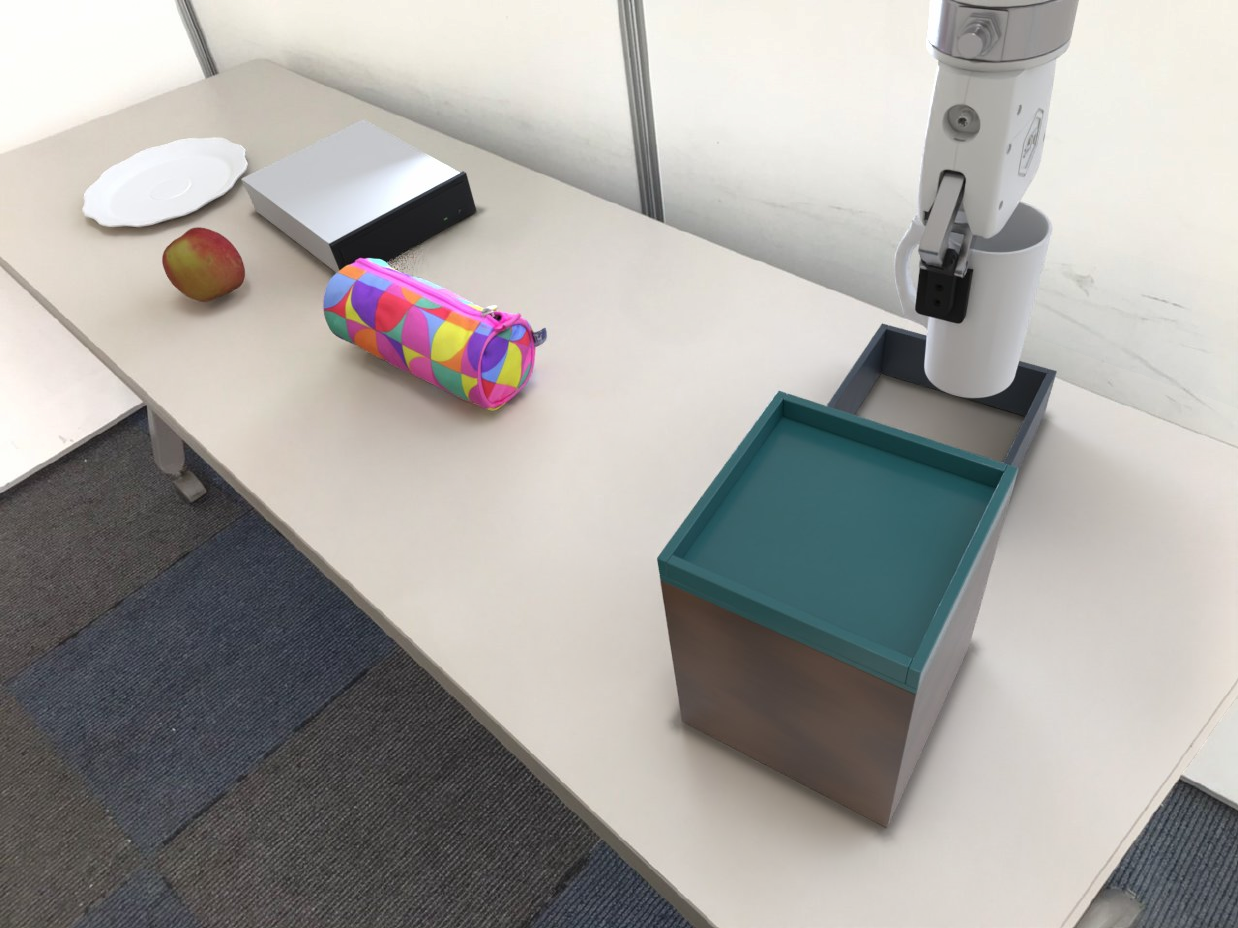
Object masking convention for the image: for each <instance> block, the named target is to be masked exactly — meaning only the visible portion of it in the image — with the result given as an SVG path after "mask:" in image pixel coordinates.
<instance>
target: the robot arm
mask: <svg viewBox="0 0 1238 928" xmlns="http://www.w3.org/2000/svg"><path fill="white" fill-rule="evenodd" d="M1079 2H1080V0H930V1H929V13H928V22H927V32H926V41H925V47H926V50H927V52H928V53H929V54H930V56H931V57H933V58H934V59H935V60H937V61H938V62H937V67H936V72H935V77H934V80H933V81H934V82H933V88H932V93H931V96H930V104H929V109H928V115H927V122H926V128H925V135H924V139H923V140H924V141H923V146H922V147H923V148H922V153H921V154H922V155H921V162H920V168H919V169H920V171H919V179H918V187H917V199H916V200H917V201H916V215H917V216H918V219H919V221H920V222H921V223H922V224H923V225H924V226H926V227H925V230H924V233H923V236H922V238H921V241H920V244H918V249H917V253H918V255H919V258H920V259H919V263H918V268H919V270H918V278H917V286H916V287H917V288H916V292H917V295H916V304H915V311H916V312H917V313H918V314H920V315H924V316H928V317H932V318H936V319H940V320H944V321H948V322H952V323H957V324H960V323H962V322H963V320H964V319H965V317H966V312H967V306H968V300H969V294H970V288H971V282H972V275H973V269H969V268H968V266H969V262H970V259H971V255H972V251H973V248H974V244H975V240H976V237H977V235H979V236H983V238H991V237H992V236H994V235H996V234H997V233H998V232H1000V231H1001V229H1002V228H1003V227H1004V225H1005V224H1006V222H1007V221H1008V219H1009V218H1010V216H1011V215H1012V213H1013V211H1014V210H1015V208H1016V207H1017V205H1018V203H1019V202H1021V201H1022V198H1023V197H1024V195H1025V194H1026V192H1027V191H1028V189H1029V187H1030V186H1031V184H1032V182H1033V180H1034V178H1035V176H1036V174H1037V173H1038V170H1039V168H1040V165H1041V162H1042V157H1043V151H1044V145H1045V138H1046V132H1047V125H1048V120H1049V113H1050V107H1051V100H1052V94H1053V89H1054V80H1055V73H1056V66H1057V59H1058V58H1060V57H1061V56H1062V55H1065V53H1066V52H1067V51H1068V49H1069V47H1070V45H1071V42H1072V41H1071V40H1072V37H1073V30H1074V26H1075V22H1076V16H1077V12H1078V6H1079ZM958 211H960V212H965V214H966V218H967V221H968V223H967V222H962V221H957V220H955V219H956V216H957V213H958ZM951 232H953V233H958V234H963V235H964V236H963V240H962V244H961V248H960V251H959V255H958V253H957V252H956V251H955V249H951V248H948V247H949V243H948V241H949V236H950V233H951Z"/></svg>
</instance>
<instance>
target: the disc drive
mask: <svg viewBox="0 0 1238 928" xmlns="http://www.w3.org/2000/svg"><path fill="white" fill-rule="evenodd" d="M241 181H242V184H243V186H244V189H245V190H246V192H247V194H248V196H249V199H250V200H251V203H252V205H253V207H254V209H255V211H256V213H258V214H259V215H261V216H262V217H263V218H265V220H267V221H269V222H270V223H271V224H272V225H274V226H275V227H276V228H278V229H279V230H280V231H281V232H283V234H285V235H286V236H288V237H289V238H291V239H292V240H293V241H294V242H295V243H297V244H298V245H300V246H301V247H302V248H304V249H305V250H306V251H307V252H308V253H310V254H311V255H313V257H315V258H317V259H318V260H319V261H320V262H321V263H323V264H325V266H327V267H328V268H330V269H331V270H332V271H333V272H335V274H336V273H337V272H338V271H340V270H341V269H342V268H344V267H345V266H347V265H350V264H353V263H355V260H357V259H359V258H363V259H366V258H372V259H381V260H383V261H385V262H386V263H388V262H389V261H391V260H393V259H395V258H397V257H398V256H400V255H402V254H404V253H405V252H407V251H409V250H410V249H412V248H414V247H416V246H418V245H419V244H422V243H423V242H425V241H427V240H428V239H430V238H432V237H433V236H435V235H438V234H439V233H441V232H443V231H444V230H446V229H448V228H449V227H451V226H453V225H455V224H456V223H458V222H460V221H462V220H464V219H466V218H468V217H470V216H471V215H473V214H474V213H476V212H477V207H476V203H475V199H474V196H473V192H472V189H471V184H470V181H469V177H468V174H467V172H466V171H464V170H463V171H461V172H460V171H459V170H455V169H454V168H452V167H451V166H449V165H447V164H445V163H443V162H442V161H440V160H439V159H436V158H435V157H433V156H431V155H430V154H428V153H425V151H423V150H420V149H418V148H417V147H415V146H413V145H411V144H410V143H408V142H406V141H404V140H402V139H401V138H399V137H398V136H395V135H393V134H392V133H390V132H388V131H386V130H385V129H383V128H381V127H379V126H378V125H375V124H374V123H372V122H370V121H368V120H367V119H365V118H362V119H360V120H357V121H356V122H354V123H352V124H349V125H348V126H345V127H344V128H342V129H340V130H337V131H336V132H334V133H331V134H329V135H327V136H326V137H323V138H321V139H319V140H317V141H315V142H313V143H311V144H308V145H307V146H305V147H303V148H301V149H299V150H297V151H295V152H293V153H291V154H288V155H286V156H284V157H283V158H280V159H278V160H276V161H274V162H272V163H270V164H268V165H266V166H264V167H262V168H260V169H258V170H255V171H254V172H252V173H250V174H247V175H245V176H244V177H241Z"/></svg>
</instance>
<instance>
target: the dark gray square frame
mask: <svg viewBox="0 0 1238 928" xmlns="http://www.w3.org/2000/svg"><path fill="white" fill-rule="evenodd" d="M926 339H927V334H922V333H919V332H915V331H912V330H908V329H905V328H901V327H897V326H895V325H894V326H893V325H890V324H886V323H883V322H882V323H881V324H880V325H879V327H878V328H877V330H876V332H875V333H874V335H873V336H872V338H871V339H869V342H868V343H867V345H866V346H865V348H864V350H863V351H862V352H861V354H860V355H859V356H858V358H857V360H856V361H855V362H854V364H853V366H852V367H851V368H850V370H849V372H848V373H847V375H846V376H845V377H844V379H843V380H842V382H841V383H840V385H839V386H838V388H837V390H836V391H835V393H833V395H832V396H831V398H830V400H829V402H827V404H826V406H828V407H831V408H834V409H837V410H841V411H844V412H847V413H850V414H853V415H856V413H857V411H858V410H859V408H860V407H861V405H862V404H863V402H864V400H865V399H866V398H867V396H868V395H869V393H870V392H871V390H872V388H873V387H874V385H875V384H876V382H877V381H878V379H879V377H880V376H881V374H882V375H885V376H890V377H893V378H896V379H899V380H902V381H905V382H909V383H912V384H916V385H920V386H923V387H926V388H930V389H933V390H936V391H940V392H943V393H945V392H944V391H942V390H940V389H939V388H937V387H936V386H935V385H933V384H932V383H931V381H930V380H929V379H928V377H927V376H926V373H925V369H924V363H925V352H926ZM1057 373H1058V371H1057V370H1055V369H1050V368H1047V367H1043V366H1041V365H1037V364H1033V363H1030V362H1025V361H1021V360H1019V363H1018V367H1017V370H1016V374H1015V377H1014V380H1013V381H1012V383H1011V384H1010V386H1009V387H1007V388H1006V389H1005V390H1003V391H1002V392H1000V393H998V394H995V395H992V396H988V397H982V398H966V397H962V398H963V399H967V400H969V401H973V402H976V403H979V404H982V405H987V406H990V407H992V408H996V409H999V410H1003V411H1007V412H1010V413H1013V414H1017V415H1020V416H1024V419H1023V422H1022V423H1021V425H1020V427H1019V430H1018V431H1017V434H1016V436H1015V437H1014V439H1013V441H1012V443H1011V445H1010V448H1009V450H1008V452H1007V454H1006V455H1005V458H1004V459H1003V462H1002V463H1005V464H1007V465H1011V466H1014V467H1017V468H1018V471H1019V469H1020V468H1021V466H1022V464H1023V461H1024V459H1025V457H1026V455H1027V453H1028V450H1029V449H1030V446H1031V444H1032V443H1033V441H1034V438H1035V436H1036V434H1037V432H1038V430H1039V429H1040V426H1041V424H1042V422H1043V419H1044V418H1045V415H1046V410H1047V407H1048V403H1049V400H1050V397H1051V394H1052V390H1053V387H1054V383H1055V379H1056V376H1057Z"/></svg>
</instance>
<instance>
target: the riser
mask: <svg viewBox="0 0 1238 928" xmlns="http://www.w3.org/2000/svg"><path fill="white" fill-rule="evenodd" d="M1012 495H1013V492H1012V493H1011V496H1010V498H1009V500H1008V502H1007V504H1006V506H1005V508H1004V510H1003V512H1002V515H1001V517H1000V519H999V521H998V523H997V525H996V527H995V529H994V531H993V534H992V536H991V538H990V540H989V542H988V544H987V546H986V548H985V550H984V553H983V555H982V557H981V559H980V561H979V563H978V565H977V567H976V570H975V572H974V574H973V576H972V578H971V580H970V582H969V584H968V586H967V589H966V591H965V593H964V595H963V597H962V599H961V601H960V603H959V605H958V608H957V610H956V612H955V614H954V616H953V618H952V620H951V622H950V624H949V627H948V629H947V631H946V633H945V635H944V637H943V639H942V641H941V643H940V646H939V648H938V650H937V652H936V654H935V656H934V658H933V660H932V663H931V665H930V667H929V669H928V671H927V673H926V675H925V677H924V679H923V682H922V684H921V686H920V688H919V690H918V692H917V694H913V693H911V692H909V691H907V690H905V689H902V688H900V687H898V686H896V685H893V684H891V683H889V682H887V681H885V680H882V679H880V678H878V677H876V676H873V675H871V674H869V673H867V672H864V671H862V670H860V669H858V668H856V667H853V666H851V665H849V664H847V663H844V662H842V661H840V660H838V659H835V658H833V657H831V656H829V655H827V654H824V653H822V652H820V651H818V650H815V649H813V648H811V647H809V646H806V645H804V644H802V643H800V642H798V641H795V640H793V639H791V638H789V637H786V636H784V635H782V634H780V633H777V632H775V631H773V630H771V629H769V628H766V627H764V626H762V625H760V624H757V623H755V622H753V621H751V620H748V619H746V618H744V617H742V616H740V615H737V614H735V613H733V612H731V611H728V610H726V609H724V608H722V607H720V606H717V605H715V604H713V603H711V602H708V601H706V600H704V599H702V598H699V597H697V596H695V595H693V594H691V593H688V592H686V591H684V590H682V589H679V588H677V587H675V586H673V585H670V584H668V583H666V582H664V581H662V580H660V579H659V582H660V588H661V594H662V595H661V596H662V601H663V602H662V603H663V607H664V615H665V620H666V627H667V628H666V629H667V633H668V640H669V646H670V653H671V659H672V665H673V670H674V679H675V685H676V686H675V687H676V692H677V698H678V705H679V711H680V717H681V722H683V723H685V724H687V725H688V726H690V727H692V728H694V729H696V730H698V731H700V732H701V733H704V734H705V735H708V736H710V737H712V738H713V739H715V740H717V741H719V742H721V743H723V744H724V745H727V746H729V747H731V748H732V749H735V750H736V751H738V752H741V753H742V754H744V755H746V756H748V757H750V758H752V759H754V760H755V761H758V762H759V763H762V764H763V765H765V766H767V767H769V768H771V769H772V770H775V771H777V772H779V773H781V774H782V775H785V776H787V777H788V778H790V779H792V780H794V781H796V782H797V783H800V784H802V785H804V786H805V787H807V788H809V789H811V790H813V791H815V792H817V793H819V794H821V795H823V796H825V797H827V798H829V799H831V800H832V801H835V802H837V803H838V804H841V805H843V806H844V807H845V808H848V809H850V810H852V811H854V812H856V813H857V814H859V815H861V816H864V817H865V818H867V819H869V820H871V821H873V822H875V823H877V824H879V825H880V826H882V827H885V828H886V829H887V828H888V827H889V825H890V823H891V821H892V819H893V817H894V814H895V813H896V810H897V808H898V806H899V803H900V801H901V799H902V796H903V794H904V792H905V790H906V788H907V786H908V783H909V782H910V778H911V777H912V774H913V772H914V770H915V767H917V766H916V765H917V764H918V761H919V760H920V757H921V755H922V752H923V750H924V748H925V746H926V744H927V741H928V739H929V737H930V734H931V732H932V731H933V728H934V726H935V724H936V721H937V718H938V717H939V715H940V713H941V710H942V708H943V706H944V704H945V701H946V699H947V697H948V695H949V693H950V691H951V688H952V686H953V683H954V681H955V679H956V677H957V675H958V673H959V671H960V668H961V666H962V663H963V661H964V659H965V657H966V654H967V653H968V650H969V648H970V645H971V641H972V638H973V634H974V631H975V627H976V623H977V620H978V617H979V613H980V609H981V605H982V602H983V598H984V596H985V591H986V587H987V583H988V581H989V577H990V573H991V570H992V567H993V566H992V565H993V562H994V560H995V555H996V552H997V548H998V544H999V540H1000V537H1001V534H1002V530H1003V526H1004V523H1005V519H1006V515H1007V512H1008V509H1009V505H1010V501H1011V497H1012Z"/></svg>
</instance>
